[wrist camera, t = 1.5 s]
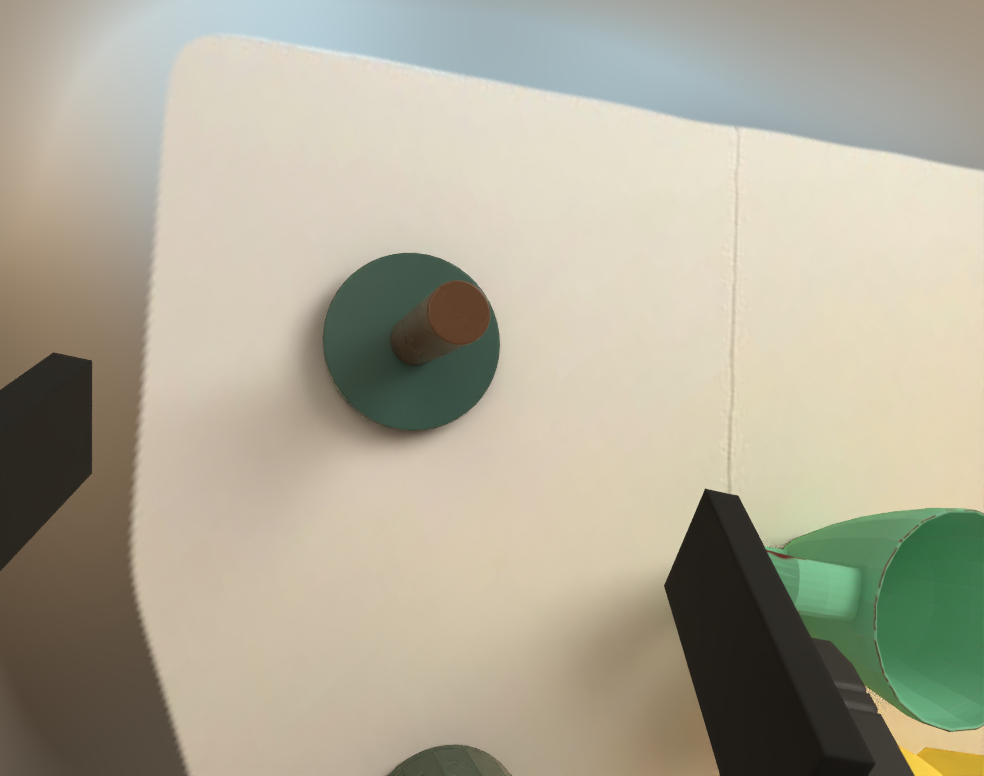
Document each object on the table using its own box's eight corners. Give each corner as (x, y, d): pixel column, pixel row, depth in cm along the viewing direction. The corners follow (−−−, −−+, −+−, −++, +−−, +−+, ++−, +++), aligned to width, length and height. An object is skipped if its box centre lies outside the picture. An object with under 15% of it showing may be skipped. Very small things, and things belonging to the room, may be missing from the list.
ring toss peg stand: (292, 387, 35) (299, 370, 25) (365, 228, 37) (399, 154, 27) (454, 457, 37) (518, 466, 27) (518, 304, 39) (601, 261, 29)
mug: (888, 507, 45) (1056, 528, 35) (866, 673, 43) (1033, 742, 34) (674, 460, 41) (797, 470, 31) (644, 642, 40) (762, 709, 30)
